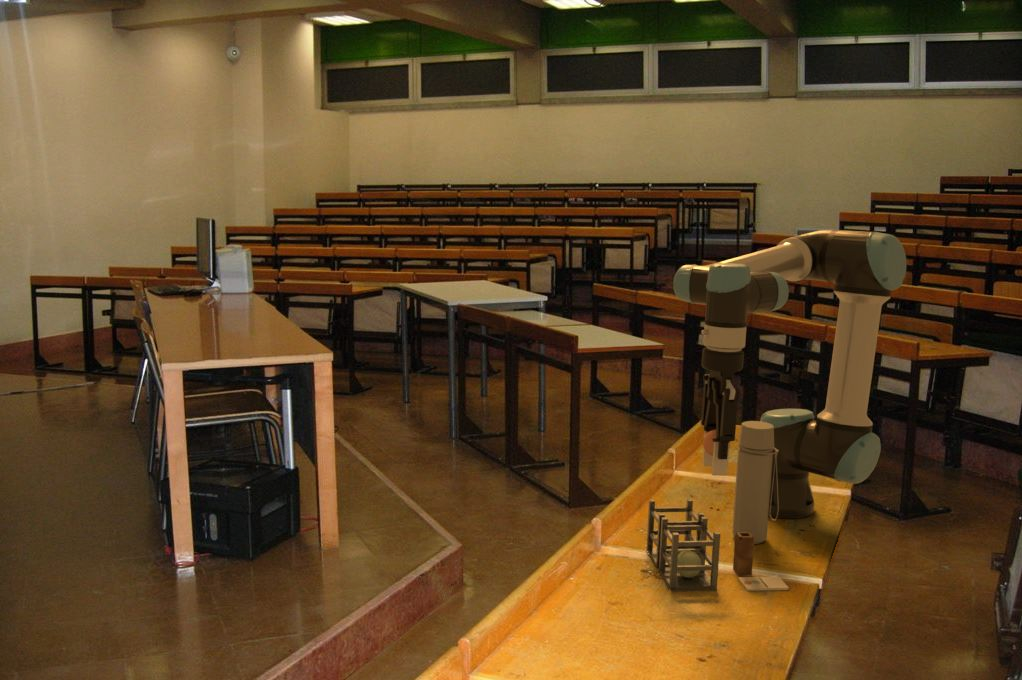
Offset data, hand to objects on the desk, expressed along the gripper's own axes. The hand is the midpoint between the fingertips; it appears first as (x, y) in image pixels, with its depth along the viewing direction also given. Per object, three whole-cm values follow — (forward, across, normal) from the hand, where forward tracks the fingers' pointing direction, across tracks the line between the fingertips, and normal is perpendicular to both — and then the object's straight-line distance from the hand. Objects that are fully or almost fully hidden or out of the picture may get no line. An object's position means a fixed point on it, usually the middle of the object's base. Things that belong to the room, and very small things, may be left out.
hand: (714, 470), depth 183 cm
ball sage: (+18, +1, -4) cm, 19 cm away
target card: (+21, +3, +10) cm, 24 cm away
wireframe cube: (+21, -9, -4) cm, 24 cm away
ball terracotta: (-5, 0, 0) cm, 5 cm away
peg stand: (+21, -3, +8) cm, 23 cm away
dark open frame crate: (+22, +1, -4) cm, 22 cm away
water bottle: (+21, -18, +16) cm, 32 cm away
